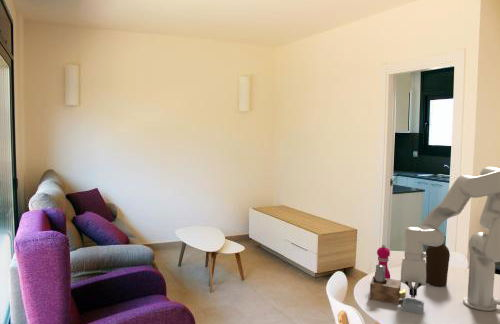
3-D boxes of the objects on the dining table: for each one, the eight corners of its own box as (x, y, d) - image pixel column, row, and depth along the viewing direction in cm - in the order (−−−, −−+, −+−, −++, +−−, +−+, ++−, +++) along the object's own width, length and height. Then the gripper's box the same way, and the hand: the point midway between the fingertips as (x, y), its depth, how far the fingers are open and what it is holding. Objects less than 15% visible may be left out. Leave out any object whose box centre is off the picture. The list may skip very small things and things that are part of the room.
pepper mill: (372, 285, 195) (374, 245, 193) (375, 280, 201) (377, 241, 200) (388, 288, 192) (390, 247, 190) (391, 283, 198) (392, 243, 196)
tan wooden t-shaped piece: (405, 297, 180) (405, 289, 180) (404, 301, 176) (405, 292, 176) (388, 294, 183) (388, 286, 183) (387, 298, 179) (387, 289, 179)
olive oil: (441, 289, 192) (444, 237, 190) (420, 282, 200) (422, 232, 198) (451, 284, 199) (454, 234, 196) (430, 277, 207) (433, 229, 205)
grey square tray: (423, 306, 172) (423, 300, 172) (423, 314, 165) (423, 308, 165) (403, 303, 176) (403, 297, 175) (402, 310, 168) (402, 304, 168)
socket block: (400, 295, 184) (400, 280, 183) (398, 304, 175) (399, 288, 174) (372, 290, 189) (373, 276, 188) (369, 298, 180) (370, 283, 179)
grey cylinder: (384, 295, 184) (385, 265, 182) (383, 298, 180) (384, 268, 179) (375, 293, 185) (376, 263, 184) (374, 297, 182) (375, 266, 180)
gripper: (432, 255, 176) (431, 296, 177) (396, 251, 182) (395, 291, 183) (432, 260, 169) (431, 303, 170) (394, 256, 175) (394, 297, 177)
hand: (413, 296), depth 177 cm, fingers closed
